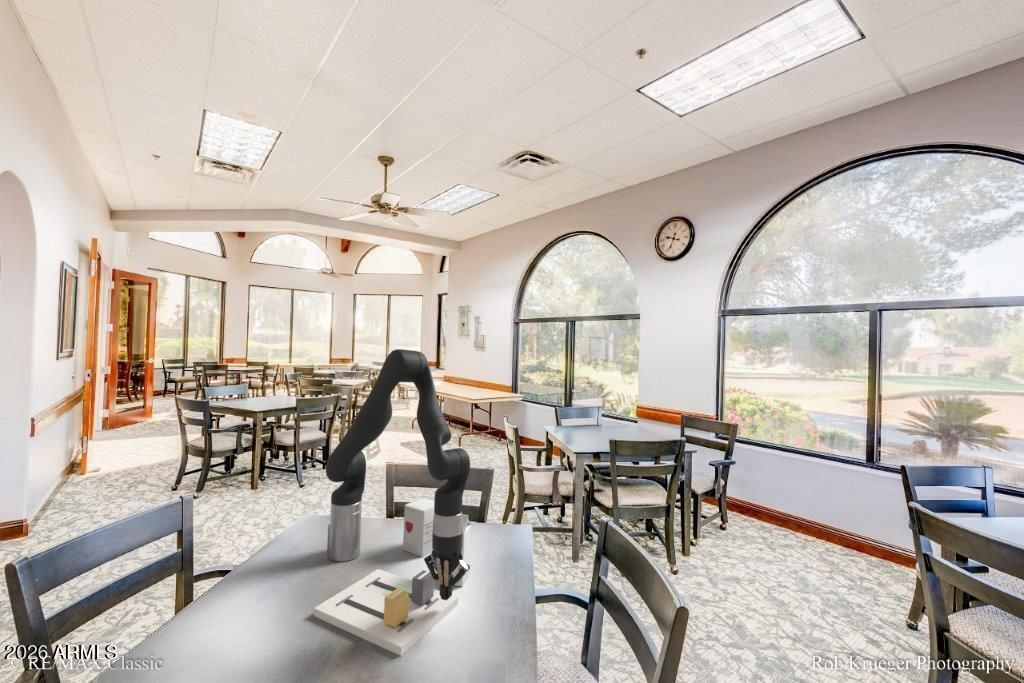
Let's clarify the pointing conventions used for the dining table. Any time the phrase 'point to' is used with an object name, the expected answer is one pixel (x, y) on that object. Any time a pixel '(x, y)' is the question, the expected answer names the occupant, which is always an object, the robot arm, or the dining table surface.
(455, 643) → the dining table surface
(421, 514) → the supplement box
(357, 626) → the board
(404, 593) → the fader amber
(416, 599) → the fader charcoal
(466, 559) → the milk carton
